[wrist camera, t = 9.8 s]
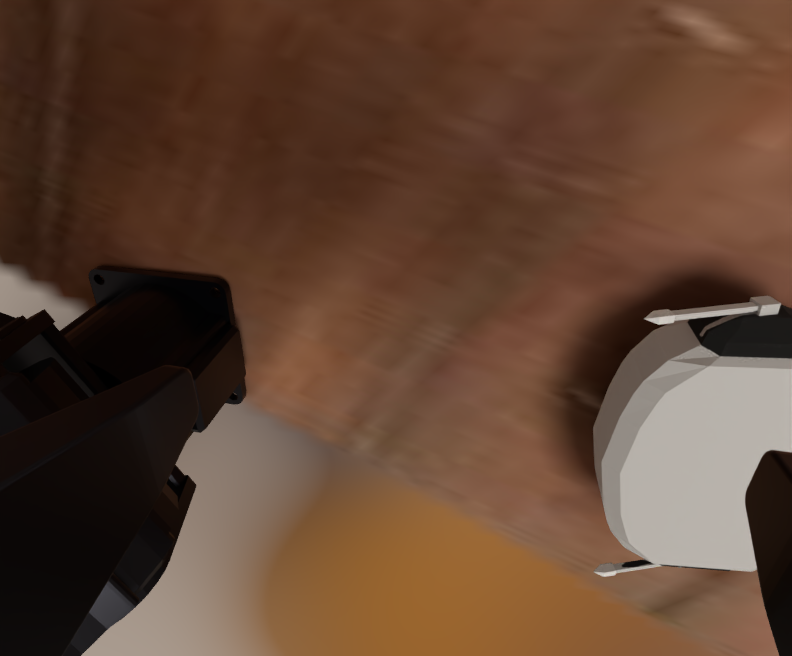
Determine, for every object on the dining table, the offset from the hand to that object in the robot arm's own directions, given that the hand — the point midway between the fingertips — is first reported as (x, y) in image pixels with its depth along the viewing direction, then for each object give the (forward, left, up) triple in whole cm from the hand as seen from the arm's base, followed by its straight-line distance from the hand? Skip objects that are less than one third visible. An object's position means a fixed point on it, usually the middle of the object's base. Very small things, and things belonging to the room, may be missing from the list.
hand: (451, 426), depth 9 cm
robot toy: (+12, -8, -13) cm, 20 cm away
